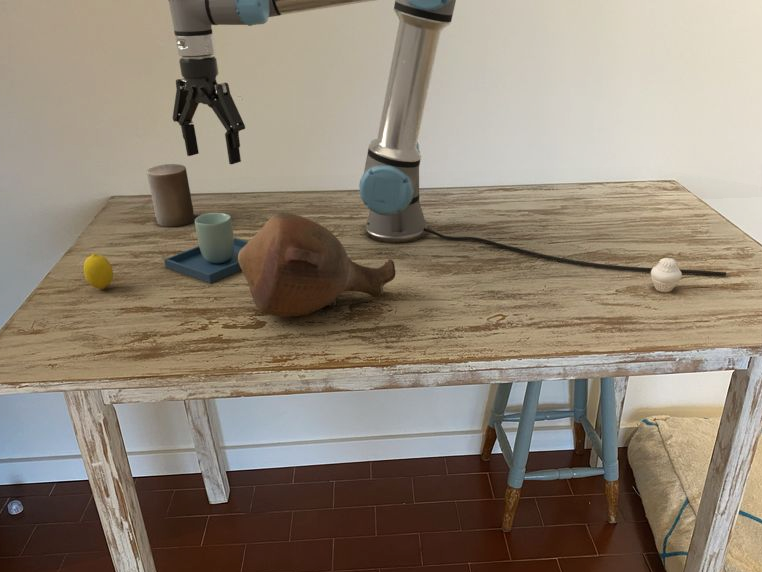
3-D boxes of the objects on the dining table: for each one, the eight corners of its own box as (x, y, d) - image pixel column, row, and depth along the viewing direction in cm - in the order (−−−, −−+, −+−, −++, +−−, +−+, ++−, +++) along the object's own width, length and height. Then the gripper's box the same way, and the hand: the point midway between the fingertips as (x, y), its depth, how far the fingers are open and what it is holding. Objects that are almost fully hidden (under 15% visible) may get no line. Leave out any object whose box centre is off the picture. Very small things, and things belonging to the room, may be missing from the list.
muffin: (641, 285, 149) (647, 255, 146) (665, 281, 152) (670, 250, 148) (661, 297, 144) (667, 265, 141) (685, 292, 147) (691, 260, 143)
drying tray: (272, 256, 165) (271, 248, 164) (210, 283, 152) (209, 275, 151) (227, 242, 172) (226, 235, 171) (165, 267, 160) (164, 259, 159)
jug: (235, 335, 132) (392, 341, 140) (240, 246, 119) (411, 258, 128) (235, 272, 147) (376, 281, 155) (239, 187, 134) (393, 201, 143)
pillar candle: (202, 218, 188) (193, 162, 180) (173, 229, 180) (162, 171, 173) (177, 212, 192) (167, 156, 185) (148, 222, 185) (136, 165, 177)
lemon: (90, 297, 147) (80, 261, 143) (87, 286, 151) (78, 251, 147) (118, 291, 149) (109, 256, 145) (114, 281, 153) (106, 247, 149)
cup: (227, 268, 158) (221, 225, 153) (195, 265, 159) (188, 223, 154) (242, 255, 165) (236, 213, 160) (211, 252, 166) (204, 211, 161)
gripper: (143, 55, 151) (163, 155, 162) (225, 63, 139) (241, 170, 149) (172, 50, 156) (189, 147, 167) (253, 58, 144) (266, 162, 155)
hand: (213, 158), depth 158 cm, fingers open, 13 cm apart
